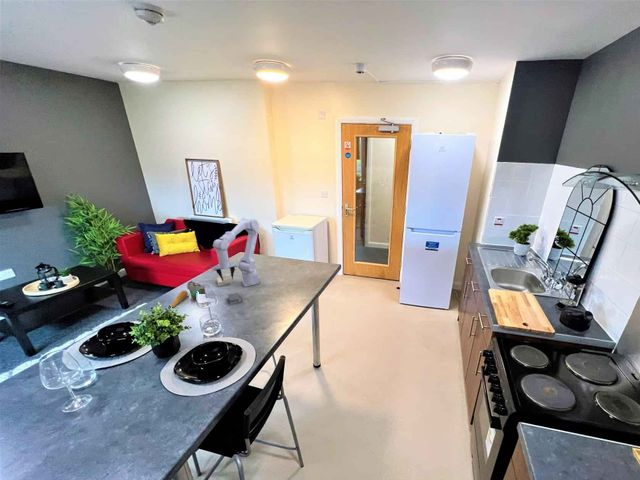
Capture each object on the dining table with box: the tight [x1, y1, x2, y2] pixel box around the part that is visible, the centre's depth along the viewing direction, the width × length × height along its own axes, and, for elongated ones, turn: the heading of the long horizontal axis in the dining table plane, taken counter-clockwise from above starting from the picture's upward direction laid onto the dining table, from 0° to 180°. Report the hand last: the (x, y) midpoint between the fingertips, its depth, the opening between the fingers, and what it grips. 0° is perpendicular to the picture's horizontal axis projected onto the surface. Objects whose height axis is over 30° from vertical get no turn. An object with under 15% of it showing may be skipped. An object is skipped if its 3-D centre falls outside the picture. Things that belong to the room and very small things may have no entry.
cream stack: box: [216, 276, 229, 287], centre depth 196 cm, size 6×9×3 cm, turn 30°
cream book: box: [222, 273, 234, 284], centre depth 179 cm, size 5×8×2 cm, turn 31°
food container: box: [186, 280, 207, 302], centre depth 174 cm, size 12×6×10 cm, turn 62°
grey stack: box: [227, 292, 242, 305], centre depth 175 cm, size 6×9×3 cm, turn 30°
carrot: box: [170, 290, 189, 308], centre depth 170 cm, size 20×4×4 cm, turn 3°
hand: (227, 279), depth 179 cm, fingers closed on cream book, 5 cm apart
